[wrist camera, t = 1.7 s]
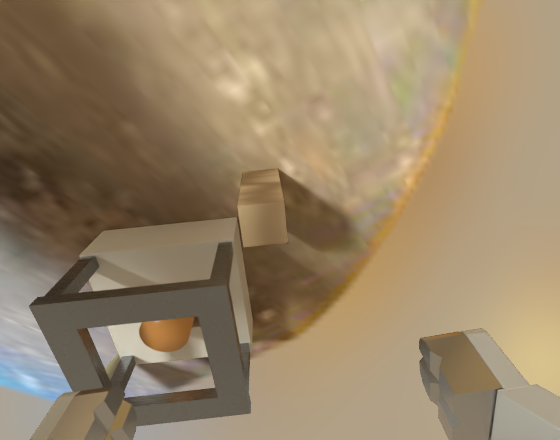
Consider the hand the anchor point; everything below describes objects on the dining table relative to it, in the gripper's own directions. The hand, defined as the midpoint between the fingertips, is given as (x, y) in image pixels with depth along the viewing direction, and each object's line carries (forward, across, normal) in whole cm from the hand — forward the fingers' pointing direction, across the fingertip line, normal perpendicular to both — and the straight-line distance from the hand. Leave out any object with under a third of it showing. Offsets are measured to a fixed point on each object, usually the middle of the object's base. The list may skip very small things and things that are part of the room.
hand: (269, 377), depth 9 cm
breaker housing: (+24, +13, +12) cm, 30 cm away
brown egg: (+21, +13, +12) cm, 27 cm away
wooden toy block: (+25, +2, +3) cm, 25 cm away
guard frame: (+19, +13, +12) cm, 26 cm away
